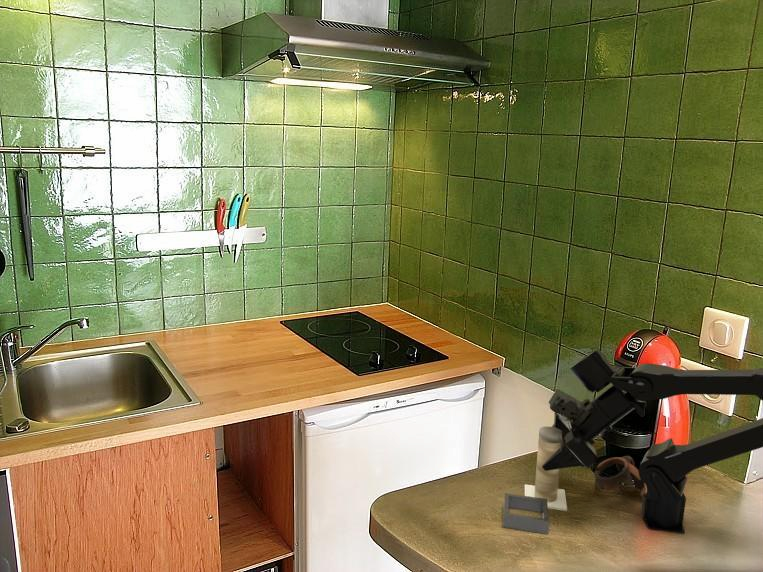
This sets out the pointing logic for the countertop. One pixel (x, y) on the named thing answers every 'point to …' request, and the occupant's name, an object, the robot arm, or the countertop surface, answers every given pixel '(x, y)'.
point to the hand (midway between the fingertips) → (541, 457)
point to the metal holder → (526, 521)
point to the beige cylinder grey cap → (546, 448)
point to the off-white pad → (558, 504)
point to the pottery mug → (619, 475)
